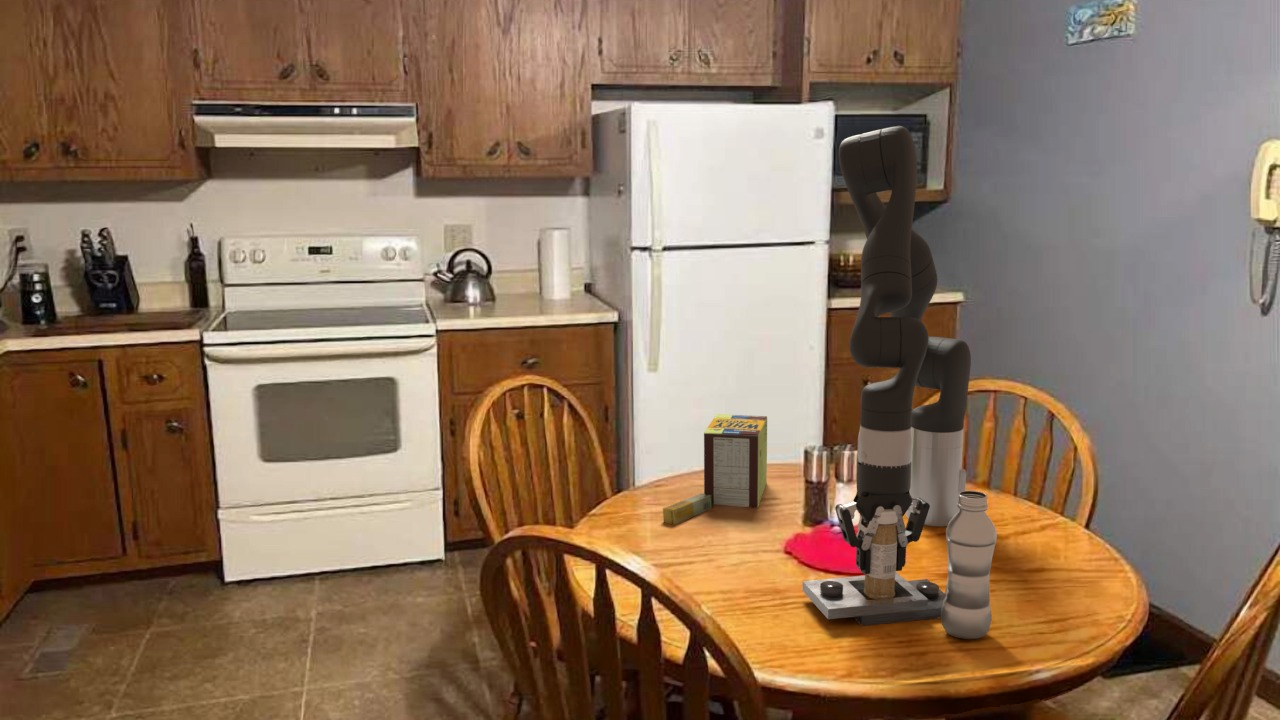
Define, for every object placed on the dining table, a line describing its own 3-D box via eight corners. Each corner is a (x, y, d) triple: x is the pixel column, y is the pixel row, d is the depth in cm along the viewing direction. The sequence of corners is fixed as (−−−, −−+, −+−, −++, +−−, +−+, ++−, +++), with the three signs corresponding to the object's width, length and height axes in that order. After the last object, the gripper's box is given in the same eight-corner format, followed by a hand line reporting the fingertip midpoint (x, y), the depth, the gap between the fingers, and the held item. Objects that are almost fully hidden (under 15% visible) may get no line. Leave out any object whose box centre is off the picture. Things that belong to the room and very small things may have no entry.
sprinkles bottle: (886, 587, 148) (890, 500, 146) (900, 599, 144) (904, 510, 141) (857, 590, 147) (861, 502, 145) (871, 602, 143) (874, 512, 140)
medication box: (702, 513, 188) (701, 492, 188) (714, 515, 186) (713, 494, 186) (663, 529, 179) (661, 507, 179) (675, 531, 177) (673, 509, 177)
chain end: (926, 588, 152) (927, 571, 152) (959, 615, 143) (960, 598, 142) (833, 597, 149) (834, 580, 149) (861, 625, 140) (862, 607, 139)
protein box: (766, 490, 201) (768, 415, 198) (758, 515, 186) (759, 434, 183) (715, 487, 203) (715, 413, 200) (702, 511, 188) (702, 432, 186)
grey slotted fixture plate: (896, 581, 151) (897, 565, 151) (927, 609, 141) (928, 591, 141) (802, 590, 148) (802, 573, 148) (828, 619, 139) (828, 601, 138)
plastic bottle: (932, 625, 140) (938, 488, 136) (979, 623, 140) (986, 486, 137) (950, 646, 134) (957, 503, 130) (999, 644, 134) (1007, 501, 130)
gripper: (918, 446, 147) (913, 557, 150) (826, 452, 144) (824, 565, 147) (943, 460, 139) (938, 576, 142) (847, 467, 137) (844, 585, 140)
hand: (880, 570), depth 145 cm, fingers closed on sprinkles bottle, 4 cm apart
